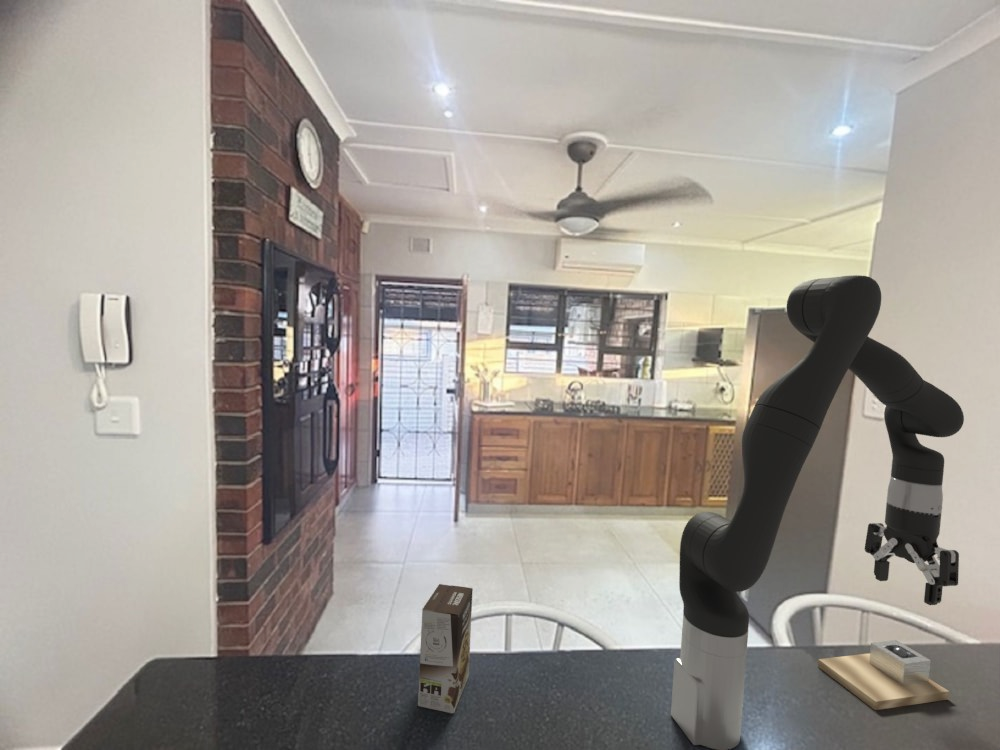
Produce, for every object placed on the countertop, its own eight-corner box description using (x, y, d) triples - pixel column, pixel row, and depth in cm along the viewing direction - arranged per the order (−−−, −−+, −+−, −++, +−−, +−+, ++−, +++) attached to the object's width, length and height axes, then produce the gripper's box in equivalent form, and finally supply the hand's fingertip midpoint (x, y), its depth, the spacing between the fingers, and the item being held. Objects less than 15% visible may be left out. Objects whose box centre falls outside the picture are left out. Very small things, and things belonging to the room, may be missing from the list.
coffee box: (455, 715, 73) (459, 615, 73) (416, 707, 75) (420, 609, 74) (470, 676, 82) (474, 587, 82) (435, 669, 84) (439, 581, 83)
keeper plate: (875, 710, 79) (878, 675, 78) (817, 666, 89) (820, 635, 89) (948, 699, 82) (951, 665, 82) (884, 658, 93) (887, 629, 92)
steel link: (902, 685, 83) (904, 663, 83) (869, 663, 89) (871, 642, 89) (928, 681, 84) (930, 660, 84) (894, 660, 90) (896, 640, 90)
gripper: (859, 493, 91) (851, 574, 92) (941, 519, 77) (932, 614, 78) (889, 492, 93) (882, 572, 94) (976, 518, 79) (966, 611, 80)
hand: (905, 591), depth 86 cm, fingers open, 8 cm apart
